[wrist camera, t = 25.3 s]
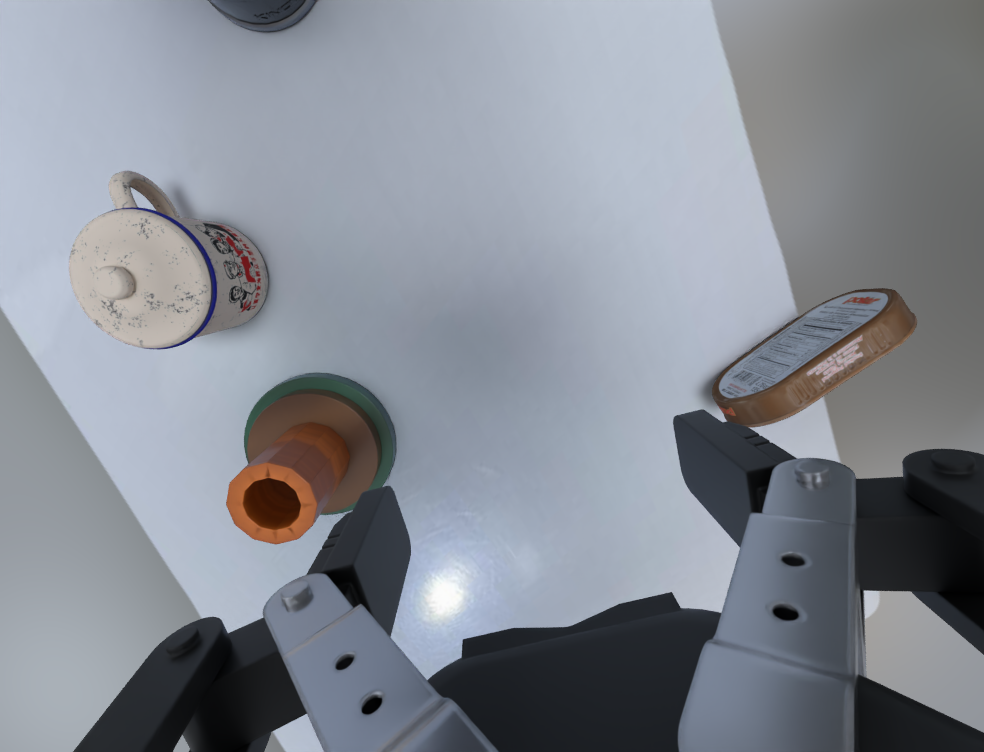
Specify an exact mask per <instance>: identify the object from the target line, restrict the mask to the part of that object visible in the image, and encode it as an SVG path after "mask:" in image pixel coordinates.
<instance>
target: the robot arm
mask: <svg viewBox="0 0 984 752" xmlns="http://www.w3.org/2000/svg"><path fill="white" fill-rule="evenodd" d="M208 1H209V2H210V3H211V4H212V5H213V6H214V7H215V8H216V9H217V10H218V11H219V12H220V13H222V14H223V15H224V16H225V17H226V18H228V19H229V20H231V21H232V22H234V23H236V24H238V25H240V26H242V27H245V28H247V29H251V30H255V31H266V32H267V31H276V30H280V29H284V28H286V27H288V26H291V25H292V24H294V23H296V22H297V21H298V20H300V19H301V18H302V17H303V16H304V15H305V14H306V13H307V12H308V11H309V10H310V8H311V7H312V5H313V4H314V2H315V0H208ZM673 425H674V431H675V437H676V443H677V449H678V455H679V461H680V466H681V471H682V475H683V478H684V480H685V483H686V485H687V487H688V488H689V490H690V491H691V493H692V494H693V495H694V496H695V497H696V498H697V499H698V500H699V502H700V503H701V504H702V505H703V506H704V507H705V508H706V510H707V511H708V512H709V513H710V514H711V515H712V516H713V517H714V519H715V520H716V521H717V522H718V523H719V524H720V525H721V527H722V528H723V529H724V530H725V531H726V532H727V533H728V534H729V536H730V537H731V538H732V539H733V540H734V541H735V542H736V543H737V545H738V546H739V547H740V551H739V554H738V558H737V561H736V564H735V568H734V571H733V575H732V578H731V582H730V585H729V589H728V592H727V596H726V599H725V603H724V606H723V610H722V613H719V612H714V611H708V610H703V609H690V608H680V606H679V604H678V602H677V601H676V599H675V597H674V595H673V594H672V592H670V593H666V594H661V595H657V596H652V597H648V598H644V599H639V600H635V601H630V602H626V603H622V604H618V605H616V606H614V607H612V608H610V609H607V610H605V611H603V612H601V613H599V614H597V615H594V616H592V617H590V618H588V619H586V620H583V621H581V622H579V623H577V624H575V625H572V626H569V627H553V628H511V629H507V630H503V631H498V632H494V633H489V634H485V635H481V636H476V637H472V638H467V639H463V645H462V658H460V659H458V660H456V661H454V662H453V663H451V664H449V665H447V666H446V667H444V668H443V669H441V670H440V671H438V672H437V673H436V674H434V675H433V676H432V677H430V678H429V679H428V680H426V679H425V677H424V676H423V675H422V674H421V673H420V672H419V670H418V669H417V668H416V667H415V666H414V665H413V663H412V662H411V661H410V660H409V659H408V657H407V656H406V655H405V654H404V653H403V652H402V650H401V649H400V648H399V647H398V646H397V645H396V643H395V642H394V641H393V640H392V639H391V638H390V637H391V633H392V629H393V625H394V621H395V617H396V613H397V609H398V605H399V601H400V597H401V593H402V589H403V585H404V581H405V577H406V573H407V569H408V565H409V561H410V556H411V545H410V538H409V534H408V531H407V528H406V525H405V522H404V519H403V517H402V514H401V511H400V508H399V505H398V502H397V499H396V496H395V493H394V491H393V489H392V488H391V487H390V486H385V487H381V488H377V489H372V490H368V491H364V492H362V494H361V496H360V498H359V500H358V501H357V503H356V505H355V507H354V509H353V511H352V512H350V513H347V514H346V515H345V516H344V517H343V518H342V519H341V520H340V521H338V522H337V523H336V524H335V525H334V527H333V529H332V530H331V532H330V534H329V536H328V539H327V540H326V541H325V543H324V545H323V546H322V550H320V552H319V553H318V555H317V557H316V559H315V561H314V562H313V564H312V566H311V568H310V569H309V571H308V573H307V575H305V576H302V577H299V578H297V579H295V580H293V581H291V582H289V583H288V584H286V585H285V586H283V587H282V588H280V589H279V590H278V591H277V592H276V593H274V594H273V595H272V596H271V597H270V599H269V600H268V601H267V603H266V604H265V606H264V609H263V616H264V618H262V619H260V620H257V621H255V622H253V623H251V624H248V625H246V626H244V627H242V628H239V629H237V630H235V631H233V632H230V633H227V631H226V629H225V627H224V624H223V622H222V620H221V619H220V618H217V617H208V618H203V619H200V620H197V621H195V622H192V623H190V624H188V625H186V626H184V627H182V628H181V629H179V630H177V631H176V632H175V633H173V634H171V635H170V636H169V637H167V638H166V639H165V640H164V641H162V642H161V643H160V644H159V645H158V646H157V647H156V648H155V649H154V650H153V652H152V653H151V654H150V655H149V656H148V658H147V659H146V660H145V662H144V663H143V664H142V665H141V666H140V668H139V669H138V670H137V671H136V673H135V674H134V675H133V677H132V678H131V679H130V680H129V682H128V683H127V684H126V685H125V687H124V688H123V689H122V690H121V692H120V693H119V694H118V696H117V697H116V698H115V699H114V701H113V702H112V703H111V704H110V706H109V707H108V708H107V709H106V711H105V712H104V713H103V715H102V716H101V717H100V718H99V720H98V721H97V722H96V723H95V725H94V726H93V727H92V729H91V730H90V731H89V732H88V734H87V735H86V736H85V737H84V739H83V740H82V741H81V743H80V744H79V745H78V746H77V747H76V749H75V750H74V751H73V752H173V750H174V748H175V746H176V744H177V743H178V741H179V739H180V737H181V736H182V734H183V736H184V738H185V740H186V742H187V743H188V745H189V747H190V751H189V752H264V751H265V748H266V746H267V743H268V741H269V737H270V735H271V732H272V731H274V730H276V729H278V728H280V727H282V726H284V725H286V724H288V723H289V722H291V721H293V720H295V719H297V718H299V717H301V716H303V715H305V714H307V715H308V717H309V719H310V721H311V723H312V726H313V728H314V730H315V732H316V735H317V737H318V739H319V741H320V744H321V746H322V748H323V750H324V752H984V733H983V732H981V731H979V730H977V729H975V728H972V727H970V726H968V725H966V724H964V723H962V722H960V721H958V720H955V719H953V718H951V717H949V716H947V715H945V714H943V713H940V712H938V711H936V710H934V709H932V708H930V707H928V706H925V705H923V704H921V703H919V702H917V701H915V700H913V699H911V698H909V697H906V696H904V695H902V694H900V693H898V692H896V691H894V690H891V689H889V688H887V687H885V686H883V685H881V684H879V683H877V682H874V681H872V680H870V679H868V678H866V648H865V613H864V590H870V591H911V592H912V593H913V594H914V595H915V596H916V597H917V598H918V599H919V600H921V601H922V602H923V603H924V604H925V605H926V606H928V607H929V608H930V609H931V610H932V611H933V612H935V613H936V614H937V615H938V616H939V617H940V618H942V619H943V620H944V621H945V622H946V623H947V624H948V625H950V626H951V627H952V628H953V629H954V630H956V631H957V632H958V633H959V634H960V635H961V636H962V637H964V638H965V639H966V640H967V641H968V642H969V643H971V644H972V645H973V646H974V647H975V648H977V649H978V650H979V651H980V652H981V653H982V654H983V655H984V455H982V454H979V453H974V452H969V451H963V450H955V449H930V450H922V451H918V452H914V453H912V454H909V455H908V456H906V457H905V458H904V460H903V462H902V463H903V477H891V478H872V479H856V477H855V474H854V472H853V471H852V470H851V469H850V468H848V467H847V466H845V465H843V464H841V463H838V462H835V461H831V460H826V459H818V458H800V459H797V458H795V457H794V456H792V455H791V454H789V453H787V452H786V451H784V450H783V449H781V448H780V447H778V446H777V445H775V444H773V443H770V442H769V440H767V439H766V438H764V437H762V436H759V434H758V433H756V432H755V431H753V430H752V429H750V428H748V427H747V426H744V425H740V424H736V423H732V422H729V421H728V422H723V423H722V422H721V421H719V420H718V419H716V418H715V417H714V416H712V415H711V414H709V413H708V412H706V411H705V410H698V411H693V412H689V413H685V414H681V415H677V416H675V417H674V420H673Z"/></svg>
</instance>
